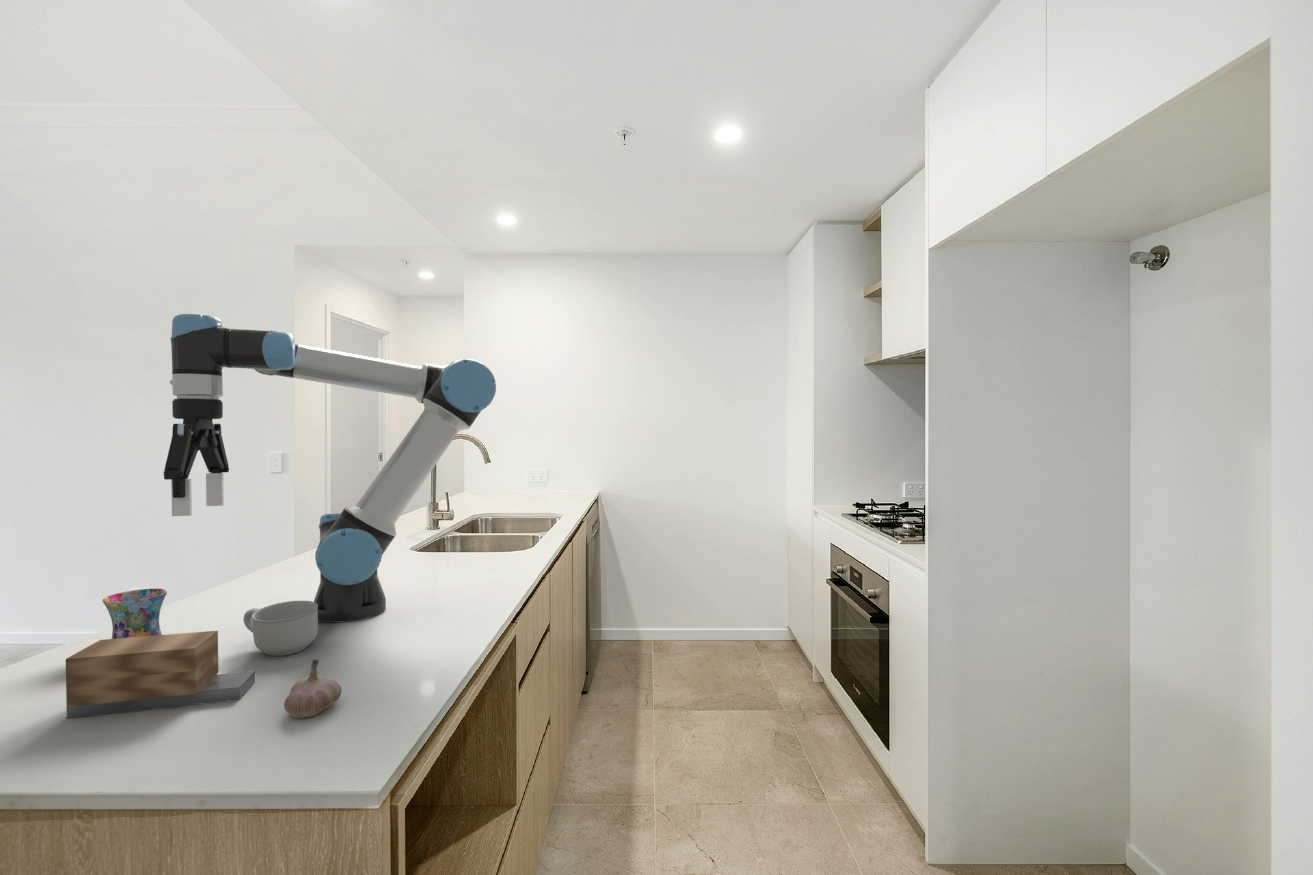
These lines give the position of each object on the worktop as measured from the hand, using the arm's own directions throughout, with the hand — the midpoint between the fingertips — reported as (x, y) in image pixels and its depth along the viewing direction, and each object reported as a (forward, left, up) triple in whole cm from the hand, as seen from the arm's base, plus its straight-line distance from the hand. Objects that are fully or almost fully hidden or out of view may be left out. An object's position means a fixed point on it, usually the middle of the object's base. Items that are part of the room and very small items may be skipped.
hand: (199, 510), depth 113 cm
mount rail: (-4, +22, -27) cm, 35 cm away
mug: (+12, -5, -27) cm, 30 cm away
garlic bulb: (-27, +32, -27) cm, 50 cm away
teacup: (-14, +3, -27) cm, 31 cm away
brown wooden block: (-1, +22, -25) cm, 33 cm away
